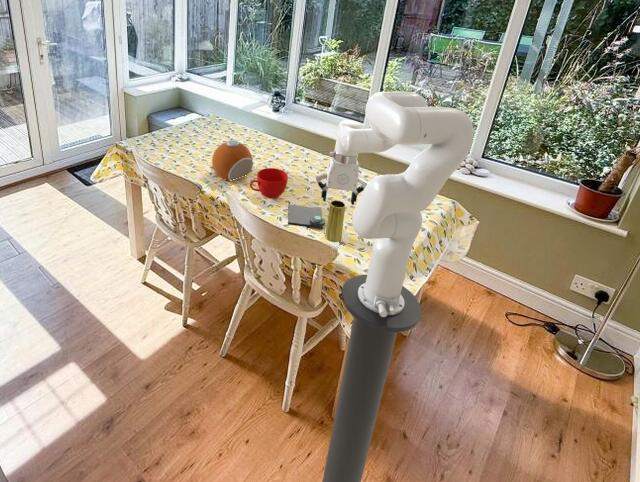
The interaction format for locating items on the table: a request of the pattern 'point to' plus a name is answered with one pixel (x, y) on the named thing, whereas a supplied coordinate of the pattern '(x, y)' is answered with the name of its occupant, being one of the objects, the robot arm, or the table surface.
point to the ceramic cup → (271, 182)
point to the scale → (305, 216)
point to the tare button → (317, 219)
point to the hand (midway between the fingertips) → (338, 201)
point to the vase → (335, 221)
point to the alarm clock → (232, 160)
